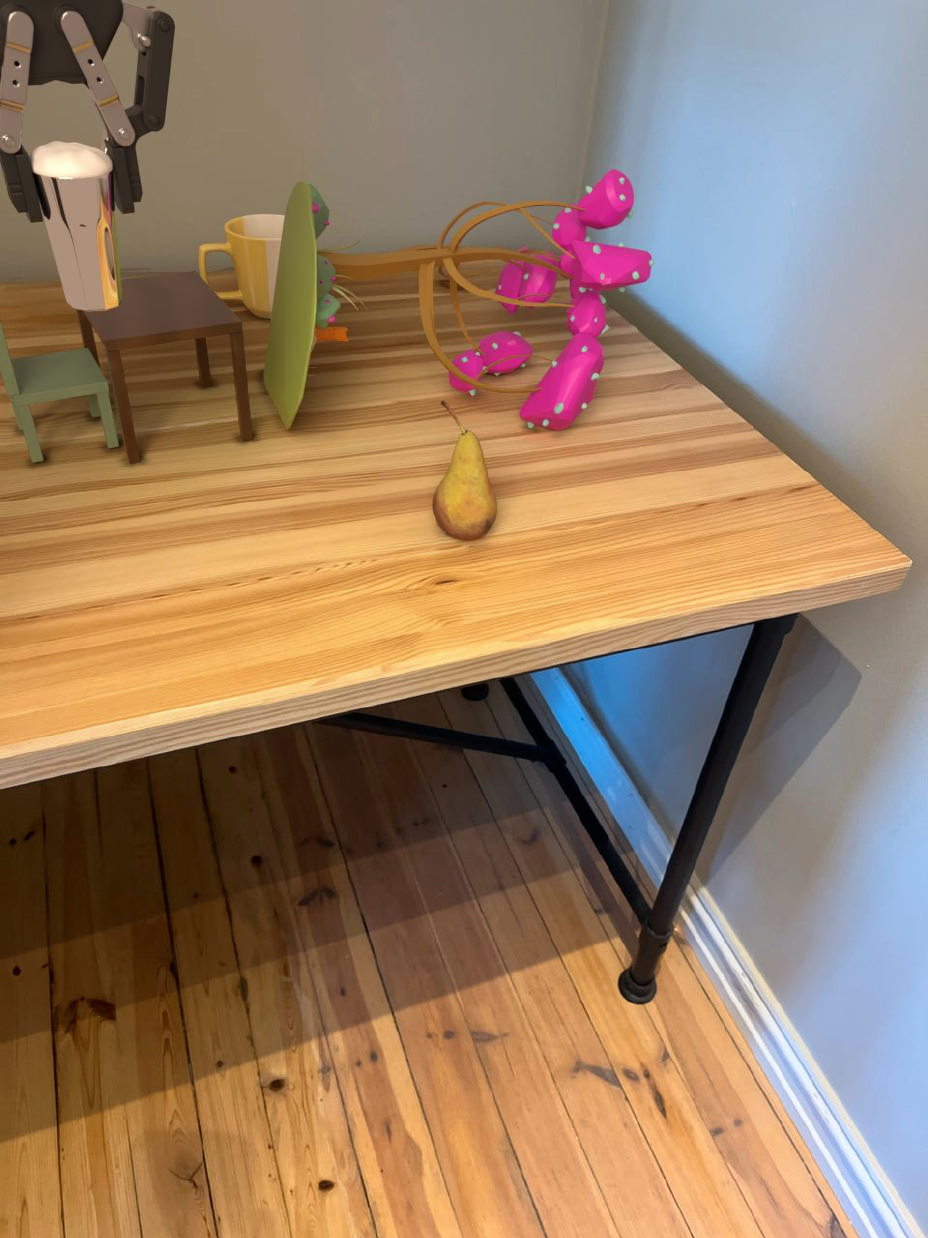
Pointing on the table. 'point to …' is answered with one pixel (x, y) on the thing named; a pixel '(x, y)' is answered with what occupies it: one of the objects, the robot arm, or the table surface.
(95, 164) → the milkshake
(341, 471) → the table surface
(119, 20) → the robot arm
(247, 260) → the mug
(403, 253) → the green and pink pieces
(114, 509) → the table surface
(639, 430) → the table surface
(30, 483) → the table surface
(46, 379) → the chair
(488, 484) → the fruit
